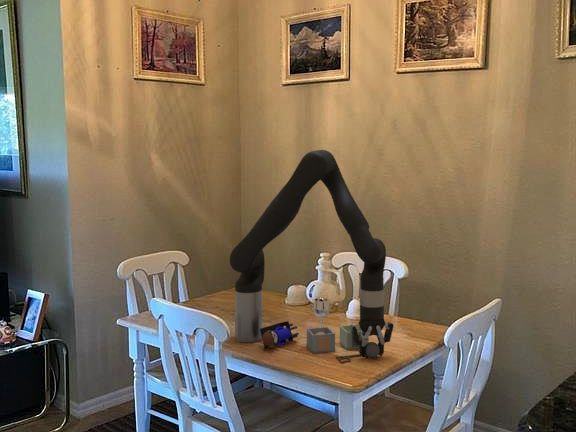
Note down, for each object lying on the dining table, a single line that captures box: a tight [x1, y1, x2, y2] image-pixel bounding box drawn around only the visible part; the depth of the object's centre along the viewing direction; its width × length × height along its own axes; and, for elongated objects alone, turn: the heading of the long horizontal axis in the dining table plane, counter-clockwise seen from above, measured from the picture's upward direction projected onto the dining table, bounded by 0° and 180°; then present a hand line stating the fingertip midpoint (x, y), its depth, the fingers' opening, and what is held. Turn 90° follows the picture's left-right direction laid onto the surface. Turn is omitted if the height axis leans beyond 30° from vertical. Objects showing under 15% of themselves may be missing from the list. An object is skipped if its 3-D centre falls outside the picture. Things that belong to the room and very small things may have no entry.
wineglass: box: [312, 297, 330, 327], centre depth 215 cm, size 6×6×12 cm
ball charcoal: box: [365, 341, 380, 358], centre depth 189 cm, size 5×5×5 cm
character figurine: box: [260, 320, 300, 350], centre depth 202 cm, size 8×7×15 cm
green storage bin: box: [339, 324, 370, 351], centre depth 201 cm, size 8×8×6 cm
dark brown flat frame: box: [335, 353, 380, 364], centre depth 189 cm, size 13×4×1 cm, turn 103°
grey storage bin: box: [306, 326, 336, 354], centre depth 198 cm, size 8×8×6 cm
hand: (371, 355), depth 190 cm, fingers closed on ball charcoal, 5 cm apart
